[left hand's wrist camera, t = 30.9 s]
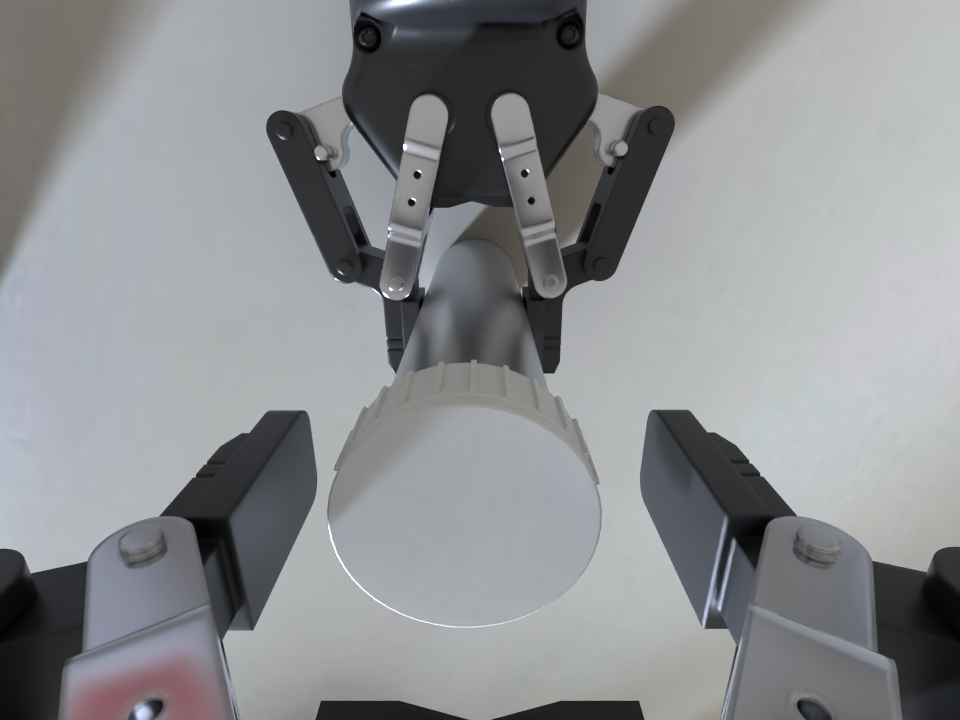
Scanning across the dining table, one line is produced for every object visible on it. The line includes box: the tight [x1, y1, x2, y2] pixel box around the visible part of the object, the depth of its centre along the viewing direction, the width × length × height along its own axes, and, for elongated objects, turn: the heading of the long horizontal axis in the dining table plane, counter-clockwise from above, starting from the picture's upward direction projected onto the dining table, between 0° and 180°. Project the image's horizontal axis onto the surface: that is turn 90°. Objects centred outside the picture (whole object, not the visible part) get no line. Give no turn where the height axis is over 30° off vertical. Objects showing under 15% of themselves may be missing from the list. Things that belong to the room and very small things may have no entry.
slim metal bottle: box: [392, 239, 549, 392], centre depth 18 cm, size 4×4×18 cm
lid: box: [327, 360, 602, 627], centre depth 10 cm, size 5×5×2 cm
